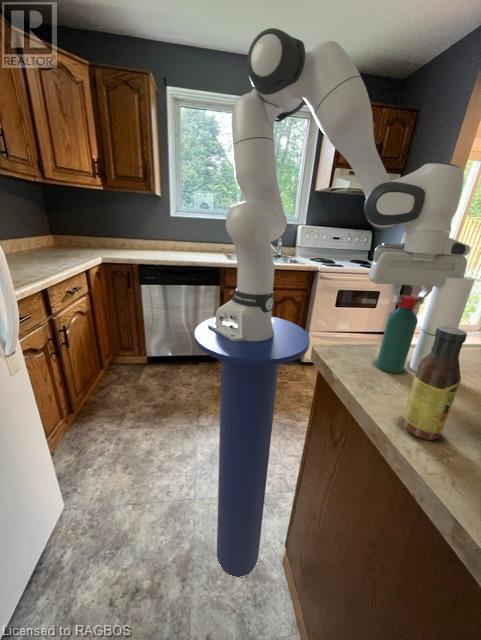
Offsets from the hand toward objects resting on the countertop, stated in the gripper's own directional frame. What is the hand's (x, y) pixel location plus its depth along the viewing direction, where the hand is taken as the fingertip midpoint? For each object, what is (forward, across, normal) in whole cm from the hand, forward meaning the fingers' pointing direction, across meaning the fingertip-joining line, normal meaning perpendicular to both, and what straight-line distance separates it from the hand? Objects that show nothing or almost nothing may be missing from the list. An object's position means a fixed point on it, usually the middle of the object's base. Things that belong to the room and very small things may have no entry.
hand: (407, 302), depth 66 cm
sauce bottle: (+18, -6, -23) cm, 30 cm away
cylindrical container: (+18, +9, 0) cm, 20 cm away
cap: (-1, 0, 0) cm, 1 cm away
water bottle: (+18, 0, 0) cm, 18 cm away
